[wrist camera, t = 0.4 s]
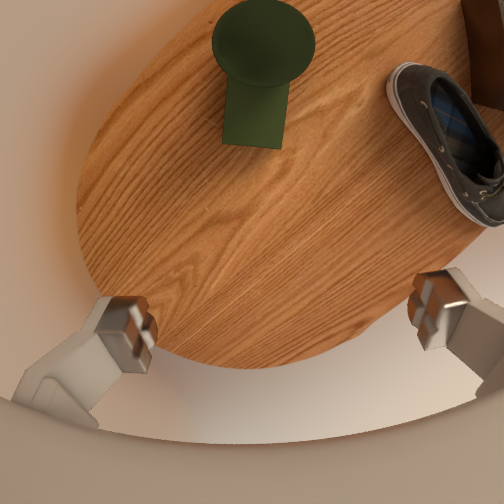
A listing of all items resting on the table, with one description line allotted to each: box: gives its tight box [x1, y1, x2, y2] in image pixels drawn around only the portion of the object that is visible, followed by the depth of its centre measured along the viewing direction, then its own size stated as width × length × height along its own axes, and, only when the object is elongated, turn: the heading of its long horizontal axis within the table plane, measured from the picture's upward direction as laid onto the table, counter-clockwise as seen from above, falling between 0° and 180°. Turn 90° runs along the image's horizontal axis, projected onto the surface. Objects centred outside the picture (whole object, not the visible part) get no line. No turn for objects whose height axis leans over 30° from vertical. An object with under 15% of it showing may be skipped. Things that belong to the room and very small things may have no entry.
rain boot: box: [212, 0, 315, 149], centre depth 19 cm, size 11×6×13 cm, turn 174°
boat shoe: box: [386, 61, 504, 228], centre depth 23 cm, size 26×9×8 cm, turn 49°
